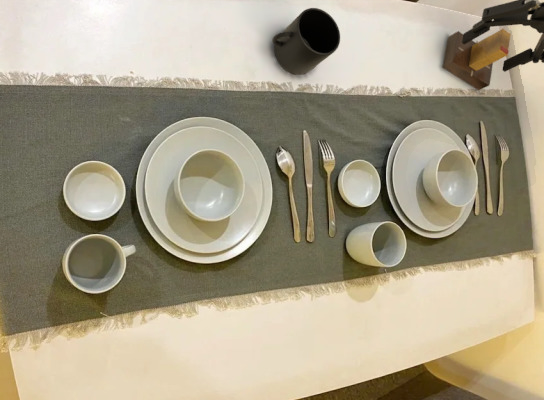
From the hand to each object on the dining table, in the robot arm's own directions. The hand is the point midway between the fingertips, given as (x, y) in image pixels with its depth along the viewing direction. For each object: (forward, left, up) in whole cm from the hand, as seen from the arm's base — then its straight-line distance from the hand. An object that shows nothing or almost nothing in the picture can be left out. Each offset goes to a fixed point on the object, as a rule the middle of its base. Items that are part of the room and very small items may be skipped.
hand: (484, 53), depth 110 cm
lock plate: (0, 0, -6) cm, 6 cm away
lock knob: (0, 0, -3) cm, 3 cm away
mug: (+44, +23, -6) cm, 50 cm away
